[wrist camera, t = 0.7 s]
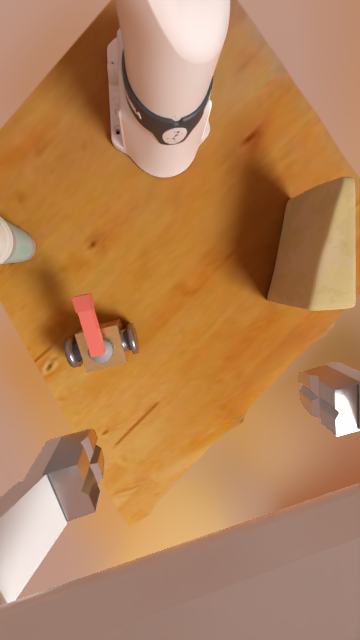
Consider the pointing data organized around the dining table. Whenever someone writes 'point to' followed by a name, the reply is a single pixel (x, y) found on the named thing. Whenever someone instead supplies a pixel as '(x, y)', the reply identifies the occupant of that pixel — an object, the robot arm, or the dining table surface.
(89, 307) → the lever
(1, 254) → the coffee cup
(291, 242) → the cheese
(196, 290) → the dining table surface
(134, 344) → the valve
